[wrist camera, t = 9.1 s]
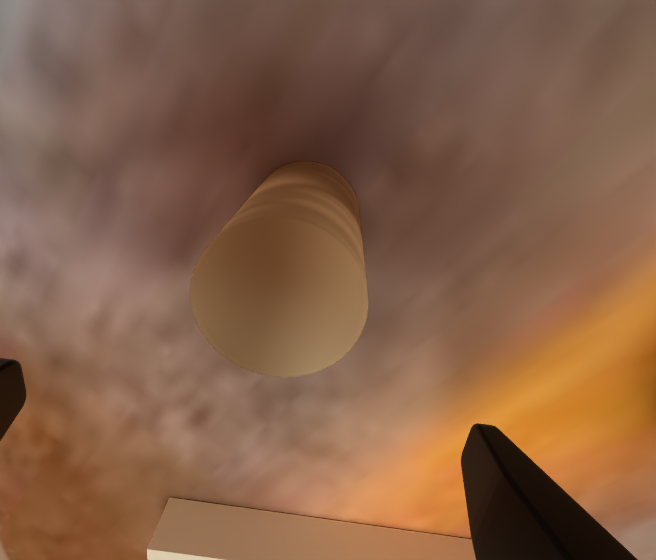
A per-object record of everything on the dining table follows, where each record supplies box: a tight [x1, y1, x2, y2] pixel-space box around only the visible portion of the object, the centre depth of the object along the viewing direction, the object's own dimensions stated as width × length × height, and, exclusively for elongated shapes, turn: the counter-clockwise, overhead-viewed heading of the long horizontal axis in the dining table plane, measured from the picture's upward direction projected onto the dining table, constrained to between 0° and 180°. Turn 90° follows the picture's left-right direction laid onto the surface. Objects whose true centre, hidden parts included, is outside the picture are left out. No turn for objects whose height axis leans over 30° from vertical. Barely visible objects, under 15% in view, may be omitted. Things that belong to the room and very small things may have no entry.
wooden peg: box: [190, 161, 368, 377], centre depth 16 cm, size 5×5×9 cm
